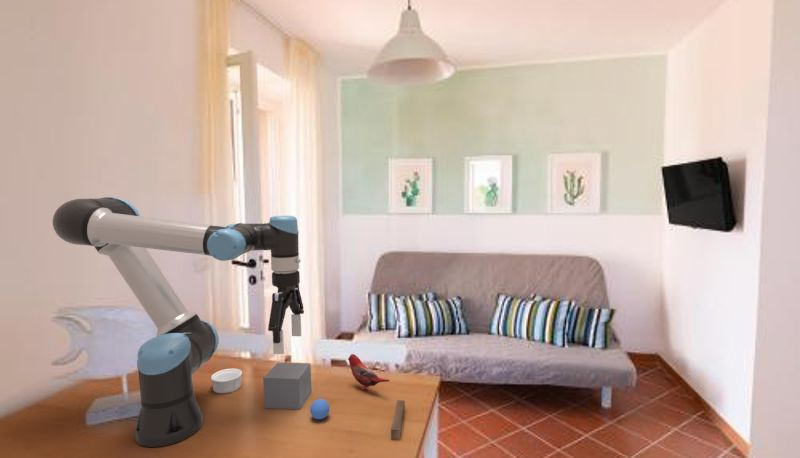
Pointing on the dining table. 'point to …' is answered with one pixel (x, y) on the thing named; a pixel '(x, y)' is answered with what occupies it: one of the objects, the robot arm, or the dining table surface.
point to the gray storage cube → (287, 385)
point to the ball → (319, 409)
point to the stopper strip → (398, 420)
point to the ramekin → (226, 380)
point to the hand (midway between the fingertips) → (288, 344)
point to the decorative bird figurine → (363, 373)
